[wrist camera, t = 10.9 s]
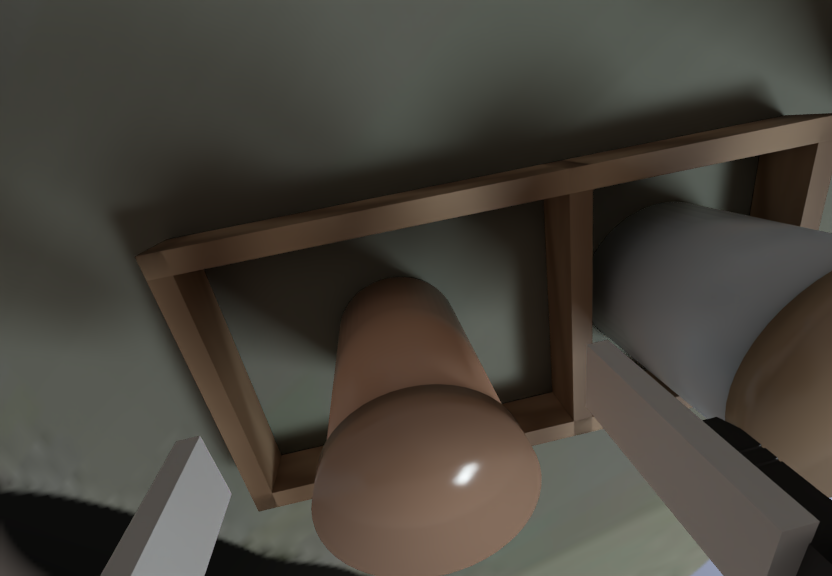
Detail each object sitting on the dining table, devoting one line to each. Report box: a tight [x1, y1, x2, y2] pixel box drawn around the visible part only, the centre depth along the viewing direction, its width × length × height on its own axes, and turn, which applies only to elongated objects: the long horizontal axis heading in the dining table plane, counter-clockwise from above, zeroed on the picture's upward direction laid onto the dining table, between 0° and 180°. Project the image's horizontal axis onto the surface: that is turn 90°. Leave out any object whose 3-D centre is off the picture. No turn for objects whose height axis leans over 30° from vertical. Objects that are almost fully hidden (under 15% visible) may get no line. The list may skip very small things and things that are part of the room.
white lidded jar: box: [592, 202, 832, 498], centre depth 16 cm, size 9×9×10 cm
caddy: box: [135, 113, 832, 511], centre depth 19 cm, size 29×14×2 cm, turn 100°
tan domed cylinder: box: [311, 277, 541, 576], centre depth 15 cm, size 6×6×10 cm
